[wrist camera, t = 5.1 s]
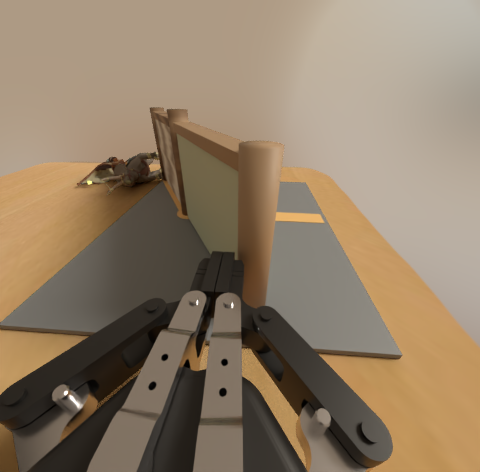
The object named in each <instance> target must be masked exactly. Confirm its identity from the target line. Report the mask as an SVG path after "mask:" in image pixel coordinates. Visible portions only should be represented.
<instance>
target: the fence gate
mask: <svg viewBox="0 0 480 472" xmlns="http://www.w3.org/2000/svg"><path fill="white" fill-rule="evenodd" d="M173 127H174V132H175V133H177V140H178V148H179V155H180V163H181V170H182V177H183V185H184V192H185V200H186V207H187V214H188V218H189V219H190V221H191V223H192V224H193V226H194V228H195V229H196V231H197V233H198V234H199V236H200V238H201V239H202V241H203V243H204V245H205V246H206V248H207V250H208V251H209V253H210V255H211V254H212V251H222V252H223V253H224V252H235V260H242V262H243V264H244V285H243V301H244V302H245V303H246V304H247V305H249V306H251V307H253V308H256V309H257V308H258V307H260V306H265V304H266V295H267V287H268V278H269V270H270V262H271V253H272V245H273V236H274V228H275V219H276V211H277V203H278V194H279V186H280V177H281V169H282V160H283V152H284V145H283V144H281V143H277V142H269V141H247V142H244V141H241V140H238V139H236V138H233V137H230V136H227V135H225V134H222V133H219V132H216V131H213V130H211V129H208V128H205V127H203V126H200V125H197V124H194V123H192V122H173Z"/></svg>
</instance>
